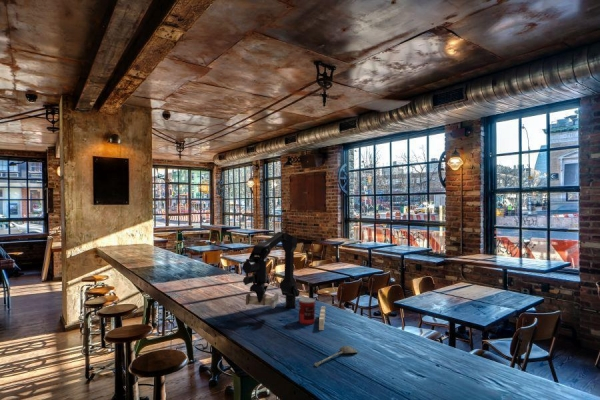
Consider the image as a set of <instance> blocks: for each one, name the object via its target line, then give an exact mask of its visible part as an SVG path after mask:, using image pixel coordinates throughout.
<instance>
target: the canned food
mask: <svg viewBox="0 0 600 400" xmlns="http://www.w3.org/2000/svg"><path fill="white" fill-rule="evenodd" d="M315 307H316V301H315V298H312V297H301V298H299V299H298V322H299V323H300V324H302V325H305V326H307V325H309V326H310V325H312V324H314V323H315V319H316V317H315V316H316V315H315V313H316V312H315V311H316V308H315Z"/></svg>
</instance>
